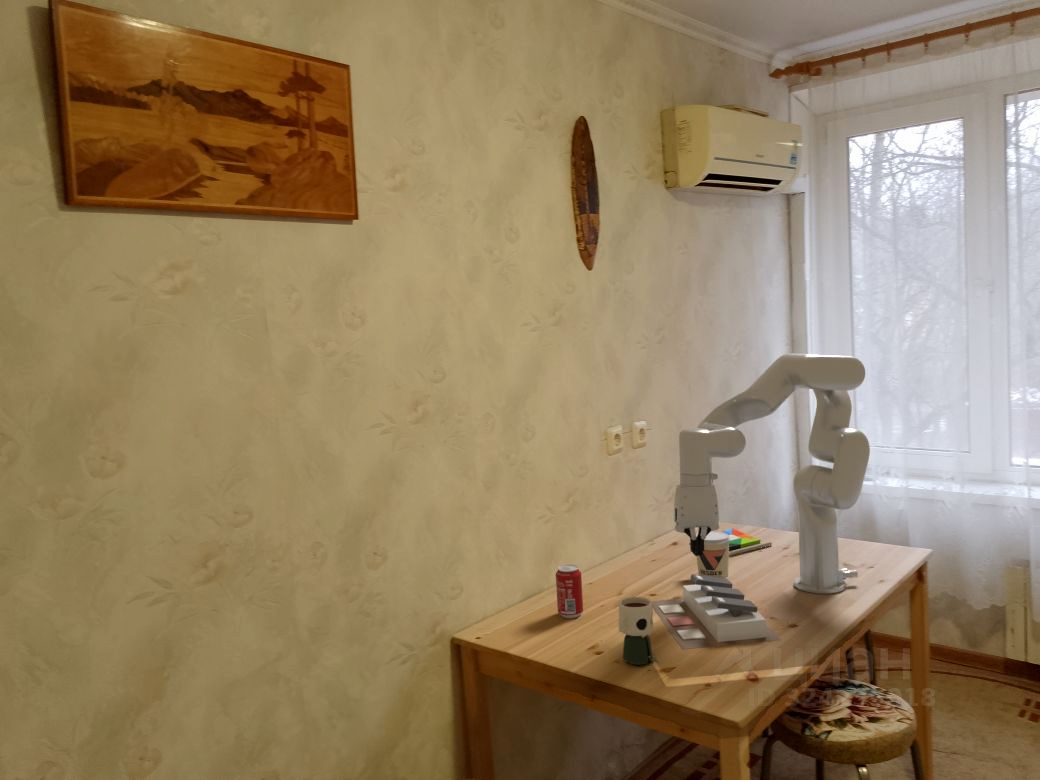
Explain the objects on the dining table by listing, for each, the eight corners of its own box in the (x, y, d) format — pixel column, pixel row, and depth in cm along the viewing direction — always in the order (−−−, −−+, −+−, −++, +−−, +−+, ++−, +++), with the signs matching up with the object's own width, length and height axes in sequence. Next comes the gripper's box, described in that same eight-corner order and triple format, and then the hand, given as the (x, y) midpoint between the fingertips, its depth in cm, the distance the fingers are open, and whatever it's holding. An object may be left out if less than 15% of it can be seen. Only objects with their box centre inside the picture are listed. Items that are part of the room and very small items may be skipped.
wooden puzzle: (730, 559, 242) (730, 547, 242) (688, 545, 258) (688, 534, 258) (774, 547, 250) (773, 536, 250) (730, 535, 267) (729, 524, 266)
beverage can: (586, 610, 206) (583, 564, 205) (579, 620, 200) (577, 572, 199) (562, 609, 208) (559, 563, 207) (554, 618, 202) (552, 571, 201)
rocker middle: (736, 600, 195) (737, 588, 195) (742, 606, 191) (744, 594, 190) (699, 595, 194) (701, 584, 194) (705, 602, 190) (707, 590, 190)
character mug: (635, 674, 169) (632, 613, 168) (608, 665, 174) (605, 605, 173) (667, 657, 176) (664, 598, 175) (640, 648, 181) (637, 591, 180)
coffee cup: (693, 582, 222) (691, 539, 221) (699, 572, 230) (697, 530, 229) (728, 585, 218) (726, 541, 217) (733, 574, 227) (731, 531, 226)
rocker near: (748, 612, 187) (750, 600, 187) (755, 619, 183) (757, 606, 183) (710, 607, 186) (712, 595, 186) (716, 614, 182) (718, 602, 182)
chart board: (733, 598, 208) (733, 592, 208) (781, 645, 179) (781, 638, 179) (648, 606, 207) (648, 600, 207) (682, 654, 177) (682, 647, 177)
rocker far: (724, 589, 203) (726, 578, 203) (730, 595, 199) (732, 583, 198) (689, 584, 202) (691, 573, 202) (694, 590, 198) (696, 579, 197)
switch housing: (726, 597, 206) (726, 581, 206) (766, 637, 180) (766, 619, 180) (683, 601, 205) (683, 585, 205) (717, 641, 179) (717, 624, 179)
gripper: (721, 475, 202) (722, 548, 203) (661, 478, 201) (663, 552, 202) (731, 481, 194) (732, 557, 196) (669, 484, 193) (671, 560, 195)
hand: (697, 554), depth 199 cm, fingers closed
